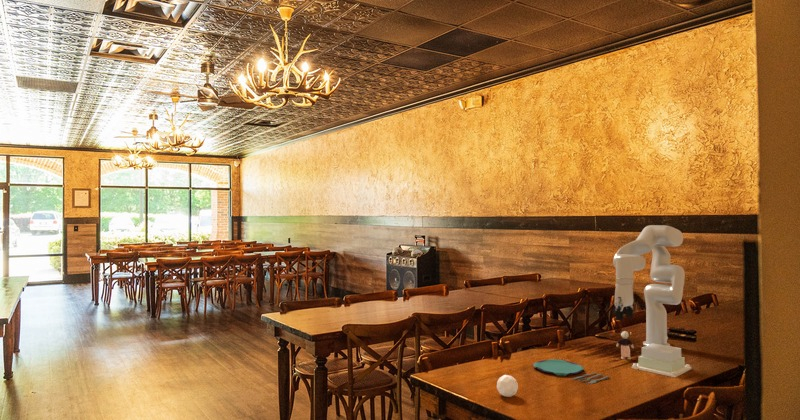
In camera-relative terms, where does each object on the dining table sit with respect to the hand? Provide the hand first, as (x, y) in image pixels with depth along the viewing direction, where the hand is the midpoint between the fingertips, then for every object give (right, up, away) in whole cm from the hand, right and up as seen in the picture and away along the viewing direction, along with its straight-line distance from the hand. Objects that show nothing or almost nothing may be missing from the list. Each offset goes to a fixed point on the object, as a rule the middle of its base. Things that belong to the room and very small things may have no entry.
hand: (624, 318), depth 245 cm
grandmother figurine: (0, -19, 0) cm, 19 cm away
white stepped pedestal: (+9, -19, -16) cm, 26 cm away
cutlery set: (-34, -19, -22) cm, 45 cm away
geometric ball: (-65, -18, -51) cm, 85 cm away
